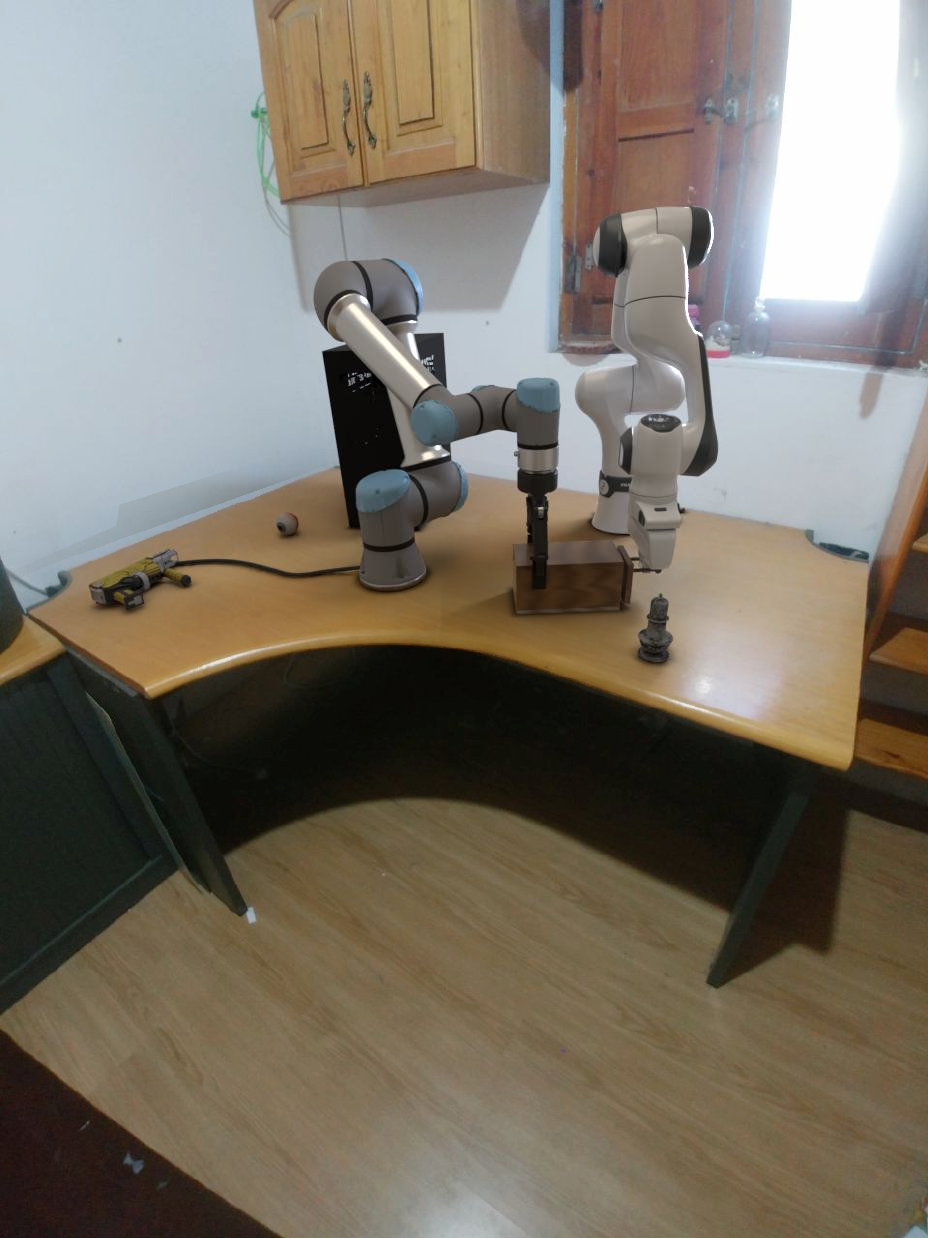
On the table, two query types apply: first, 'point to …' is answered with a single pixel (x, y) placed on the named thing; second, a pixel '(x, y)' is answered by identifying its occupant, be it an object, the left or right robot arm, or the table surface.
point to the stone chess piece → (656, 632)
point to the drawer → (630, 573)
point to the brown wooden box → (569, 578)
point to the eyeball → (287, 523)
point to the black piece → (369, 415)
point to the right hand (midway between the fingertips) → (644, 570)
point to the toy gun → (136, 580)
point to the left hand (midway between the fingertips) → (536, 575)
